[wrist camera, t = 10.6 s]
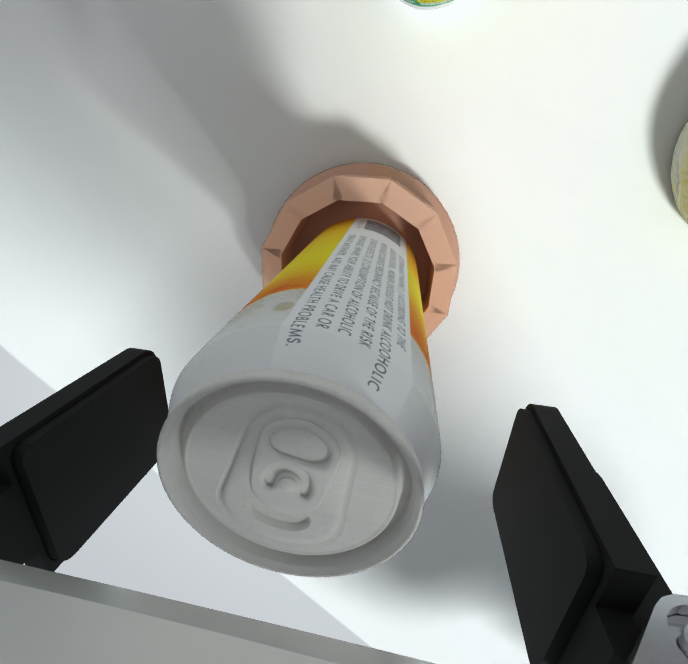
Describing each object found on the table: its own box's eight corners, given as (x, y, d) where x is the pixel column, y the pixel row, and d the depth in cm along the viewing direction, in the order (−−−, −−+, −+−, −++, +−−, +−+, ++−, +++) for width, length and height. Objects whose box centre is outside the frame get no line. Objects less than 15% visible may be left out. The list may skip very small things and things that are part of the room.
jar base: (440, 355, 23) (445, 384, 20) (275, 336, 24) (257, 360, 21) (475, 169, 18) (488, 171, 15) (269, 157, 20) (245, 156, 17)
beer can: (297, 303, 22) (133, 537, 9) (323, 199, 19) (140, 306, 6) (394, 335, 22) (382, 619, 9) (434, 236, 19) (509, 426, 6)
